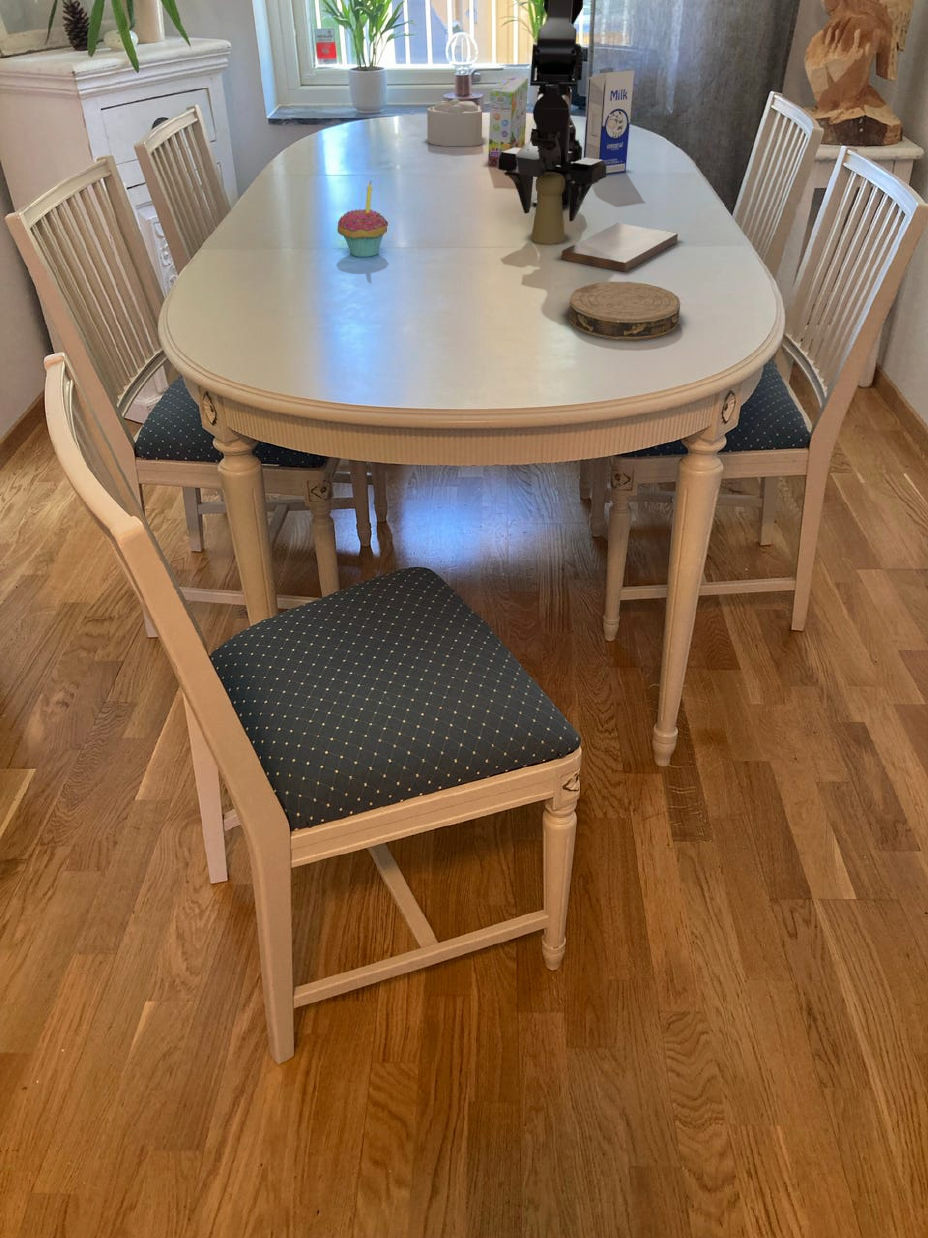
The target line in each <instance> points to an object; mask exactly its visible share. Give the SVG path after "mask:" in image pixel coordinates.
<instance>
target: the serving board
mask: <svg viewBox="0 0 928 1238" xmlns="http://www.w3.org/2000/svg"><path fill="white" fill-rule="evenodd" d="M678 237H679V233H675V232H669V231H665V230H659V229H654V228H648V227H643V226H637V225H630V224H624V223H618V222H617V223H614V224H612V225H611V226H609V227H607V228H605V229H603V230H601V231H599V232H596V233H594V234H593V235H590V236H589V237H587V238H585V239H582V240H581V241H578V242H576V243H574V244H573V245H570V246H568V247H566V248H564V249H562V250H561V260H564V261H569V262H573V263H579V264H583V265H589V266H594V267H599V268H602V269H603V268H604V269H609V270H614V271H618V272H624V273H625V272H628V271H629V270H631V269H632V268H634V267H636V266H638V265H640V264H641V263H644V262H645V261H646V260H648V259H650V258H652V257H654V256H656V255H657V254H659V253H661V252H662V251H664V250H665V249H666V250H667V248H669V247H671V246H672V245H674V244H676V243H677V242H678Z"/></svg>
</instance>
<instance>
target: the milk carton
mask: <svg viewBox="0 0 928 1238" xmlns="http://www.w3.org/2000/svg"><path fill="white" fill-rule="evenodd" d="M634 77H635V69H633V70H622V71H614V67H605V68H601V69H599V73H598V74H596V75H591V76H590V77H588V79H587V81H588V82H587V97H586V111H585V112H586V113H585V129H584V144H583V145H584V146H583V158H592V159H599V160H603V161H604V163H605V165H606V167H607V168H606V176H607V175H613V174H620V173H626V172H627V171H626V170H627V161H628V149H629V136H630V127H631V126H630V125H631V115H632V114H631V113H632V100H633V91H634V89H633V88H634V79H635V78H634Z"/></svg>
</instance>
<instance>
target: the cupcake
mask: <svg viewBox="0 0 928 1238" xmlns="http://www.w3.org/2000/svg"><path fill="white" fill-rule="evenodd" d="M372 187H373V185H372V180H370V181H369V184H368V185H367V189H366V191H367V192H366V202H365V203H366V204H365V209H364V208H363V209H352V210H350V211H347V212H346V213H344V214H343V215H341V216H340V218H339V219H338V221H337V231H336V232H337V233H338V234H339V235H341V236H343V238H344V240H345V242H346V245H347V248H348V249H349V252H350V254H351V255H352V256H354V257H359V258H369V257H373V256H376V255H378V254H379V252H380V247H381V243H382V240H383V237H384V235H385V234H386V233H387V232H388V226H389V221H388V220H387V219H386V218H385V217H384V216H383V215H382V214H381V213H379V212H377V210H373V209H371V199H372V189H373V188H372Z"/></svg>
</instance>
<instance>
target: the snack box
mask: <svg viewBox="0 0 928 1238" xmlns="http://www.w3.org/2000/svg"><path fill="white" fill-rule="evenodd" d="M528 86H529V77H526V76H525V77H524V76H506V77H505V78H503V80H502V81H500V82H499V84H497V85H496V86H495V87H494V88H493V89H491V90H490V95H489V96H490V97H489V98H490V101H489V103H490V104H489V132H488V157H487V158H488V159H487V162H488V163H487V165H488V166H495V167H498V157H499V155H500V154H501V152H503V151H506V150H509V149H512V148H515V147H516V148H522V147H523V146H524V145H525V144H526V128H527V125H526V124H527V107H528V90H529V89H528Z"/></svg>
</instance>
